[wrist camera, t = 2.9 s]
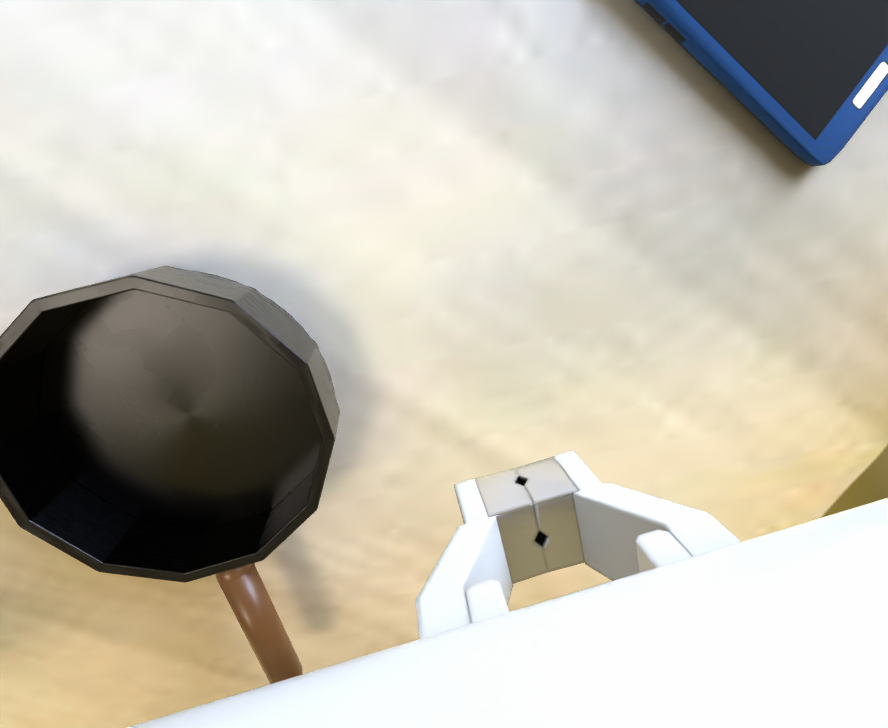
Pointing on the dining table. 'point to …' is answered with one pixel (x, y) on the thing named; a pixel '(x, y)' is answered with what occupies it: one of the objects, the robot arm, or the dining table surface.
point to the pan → (168, 434)
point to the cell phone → (790, 62)
